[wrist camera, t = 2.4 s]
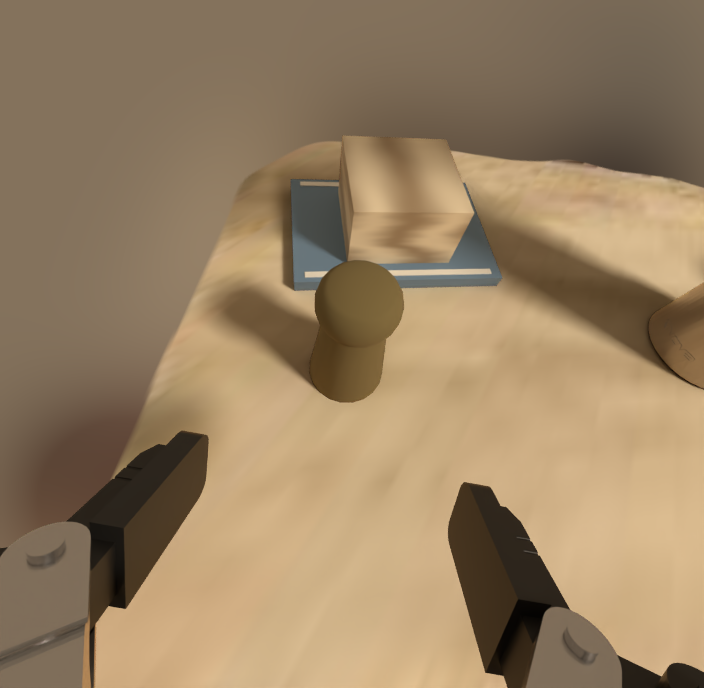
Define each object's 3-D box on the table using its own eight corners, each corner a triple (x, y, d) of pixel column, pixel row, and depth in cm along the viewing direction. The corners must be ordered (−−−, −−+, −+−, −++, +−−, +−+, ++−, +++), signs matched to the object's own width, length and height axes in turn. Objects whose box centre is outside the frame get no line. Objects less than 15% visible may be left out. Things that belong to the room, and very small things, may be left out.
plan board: (461, 191, 40) (465, 181, 39) (496, 285, 33) (502, 277, 32) (291, 188, 37) (290, 178, 36) (294, 290, 31) (293, 281, 30)
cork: (316, 330, 29) (317, 235, 19) (384, 341, 29) (419, 252, 19) (302, 396, 26) (295, 323, 16) (378, 408, 26) (416, 342, 17)
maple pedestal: (427, 193, 37) (445, 139, 32) (448, 262, 33) (474, 213, 27) (338, 192, 36) (342, 135, 31) (347, 264, 31) (353, 212, 26)
